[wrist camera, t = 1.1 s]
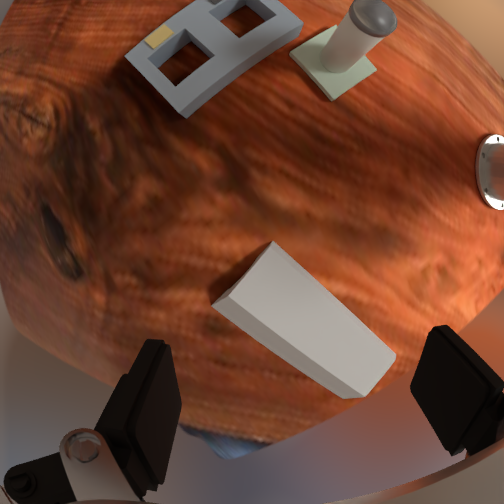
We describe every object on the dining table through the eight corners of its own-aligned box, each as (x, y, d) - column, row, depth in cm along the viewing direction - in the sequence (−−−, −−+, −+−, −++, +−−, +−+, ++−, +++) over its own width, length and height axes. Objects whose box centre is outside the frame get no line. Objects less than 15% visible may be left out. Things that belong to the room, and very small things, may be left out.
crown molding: (395, 352, 42) (403, 364, 39) (342, 397, 45) (347, 410, 41) (271, 239, 37) (273, 247, 33) (210, 304, 39) (206, 317, 36)
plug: (336, 40, 27) (373, -9, 15) (358, 64, 28) (405, 24, 16) (312, 55, 28) (342, 4, 16) (334, 80, 29) (377, 40, 16)
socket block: (242, -12, 26) (242, -28, 22) (298, 36, 28) (304, 22, 24) (136, 65, 29) (123, 55, 25) (186, 118, 31) (178, 112, 27)
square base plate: (333, 28, 28) (335, 24, 27) (373, 72, 29) (377, 70, 28) (288, 55, 29) (290, 51, 28) (331, 101, 31) (334, 99, 30)
